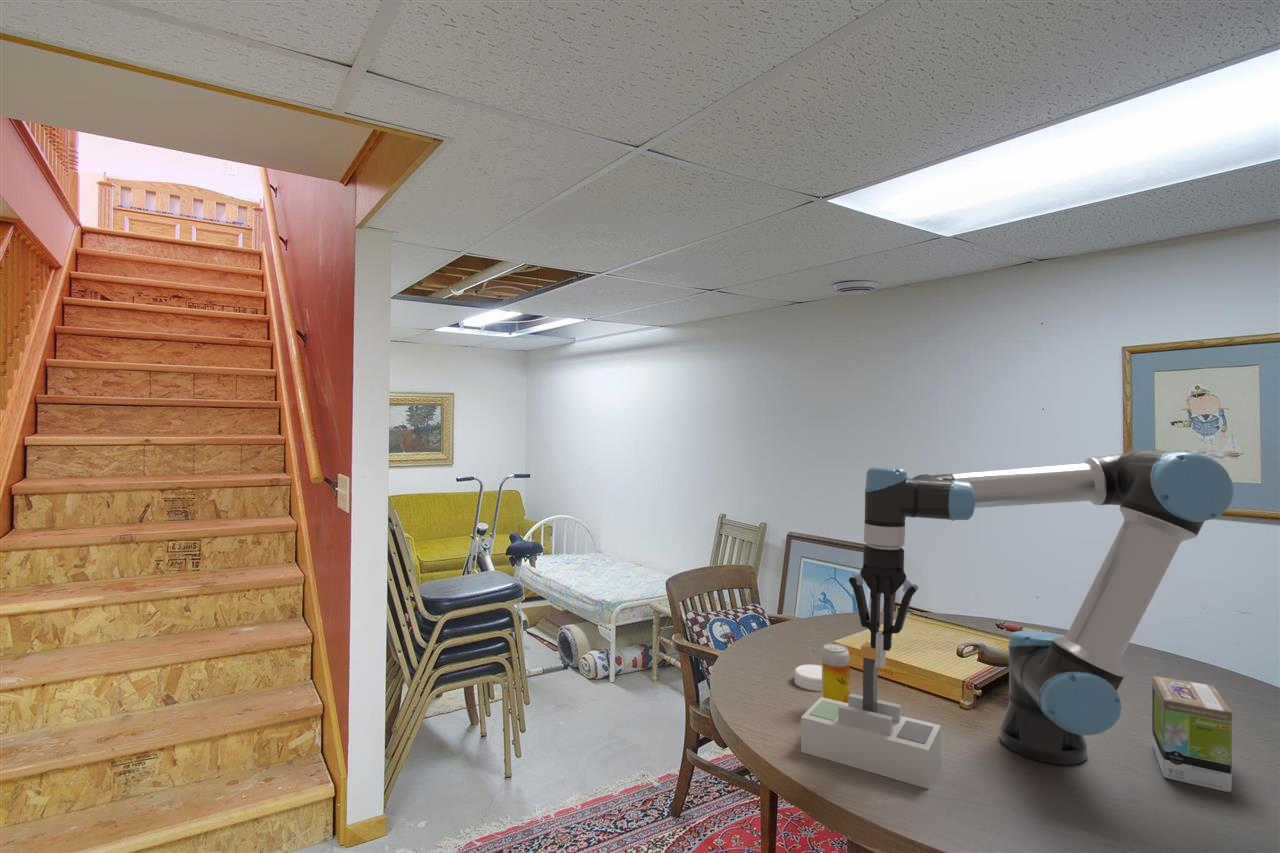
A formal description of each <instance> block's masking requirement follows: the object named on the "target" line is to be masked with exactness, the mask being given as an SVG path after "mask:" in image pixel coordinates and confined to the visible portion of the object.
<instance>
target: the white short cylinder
mask: <svg viewBox="0 0 1280 853" xmlns="http://www.w3.org/2000/svg"><path fill="white" fill-rule="evenodd" d="M794 684H795V685H796V686H797V687H799V688H802V690H803V689H804V690H808V691H813V692H822V665H818V664H802V665H799V666H796V667H795V669H794Z"/></svg>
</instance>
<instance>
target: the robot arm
mask: <svg viewBox="0 0 1280 853" xmlns="http://www.w3.org/2000/svg"><path fill="white" fill-rule="evenodd" d="M907 473H908V472H907V470H906V469H905V468H899V467H887V466H885V467H883V466H882V467H881V466H879V467H878V466H876V467H873V466H872V467H871V468H869V469H868V470H867V471H866V476H865V477H866V479H865V489H864V528H863V542H864V543H865V544H864V546H863V552H862V553H863V556H862V558H863V559H862V560H863V561H862V568H861V569H860V572H859V573H858V574H856V575H852V576H851V577H849V578H848V583H850V586H851V587H852V589H853V593H854V596H855V597H854V598H855V602H856V606H857V611H858V615H859V619H860V624H861V625H860V626H861V627H863V628H866V629H867V630H869V631H870V642H871V647H873V648H876V659H875V667H878V668H880V669H883V668H884V667H885V666H886V664H887V661H886V660H887V659H886V658H887V652H889V651H890V650H891V649H892V643H893V642H892V641H893V640H892V639H893V634H899V633H900V632H901V631H902V630H903V627H904V624H905V620H906V617H907V614H908V611H909V607H910V604H911V601H912V598H913V596H914V595H915V593H916V592H917V591H918V590H919V586H918V585H916V584H913V583H912V582H910V581H909V580H908V579H907V575H906V573H905V550H904V548H903V546H905V538H906V536H905V535H906V518H922V519H934V520H950V521H953V522H954V521H969V520H971V518H972V517H973V515H974V513H975V508H976V509H977V508H978V509H979V508H993V507H994V508H995V507H1009V506H1010V507H1011V506H1012V507H1013V506H1025V505H1026V506H1027V505H1028V506H1029V505H1043V504H1045V505H1046V504H1057V503H1058V504H1059V503H1075V502H1090V503H1091V504H1093V505H1095V506H1108V505H1109V506H1110V505H1111V506H1112V505H1113V506H1119V510H1120V512H1121V515H1122V517H1123V523H1122V525H1121V527H1120V529H1119V530H1118V532H1117V534H1116V537H1115V538H1114V541H1113V542H1112V544H1111V546H1110V549H1109V550H1108V552H1107V554H1106V556H1105V558H1104V560H1103V562H1102V564H1101V566H1100V568H1099V570H1098V572H1097V573H1096V576H1095V578H1094V579H1093V582H1092V584H1091V586H1090V588H1089V590H1088V592H1087V594H1086V596H1085V598H1084V600H1083V601H1082V604H1081V606H1080V608H1079V610H1078V612H1077V614H1076V616H1075V617H1074V620H1073V622H1072V623H1071V625H1070V628H1068V632H1067V633H1066V634H1065V635H1064V634H1059V633H1053V632H1048V631H1037V630H1019V631H1013V632H1011V634H1010V635H1009V638H1008V639H1009V640H1008V641H1009V642H1008V645H1007V648H1008V675H1009V676H1008V685H1009V687H1008V688H1009V689H1008V690H1009V694H1008V696H1009V700H1008V701H1009V702H1008V705H1007V707H1006V710H1005V713H1004V715H1003V719H1002V720H1001V723H1000V727H999V734H1000V735H999V739H1000V741H1001V743H1002V744H1003V745H1004V746H1005V747H1007V748H1008V749H1010V750H1011V751H1012V752H1014V753H1016V754H1019V755H1020V756H1023V757H1025V758H1028V759H1032V760H1034V761H1038V762H1042V763H1046V764H1053V765H1064V766H1065V765H1068V766H1069V765H1076V764H1082V763H1083V762H1085V761H1086V760H1087V758H1088V745H1087V742H1086V738H1085V736H1093V735H1097V734H1099V735H1100V734H1102V733H1105V732H1107V731H1109V730H1110V729H1111V728H1113V726H1115V725H1116V723H1117V722H1118V720H1119V719H1120V716H1121V713H1122V702H1121V700H1120V699H1121V698H1120V695H1119V693H1118V689H1119V688H1120V685H1121V684H1122V681H1123V680H1124V679H1125V678H1124V677H1125V672H1124V670H1123V668H1122V665H1121V659H1122V657H1123V656H1124V653H1125V651H1126V649H1127V648H1128V645H1129V643H1130V642H1131V640H1132V638H1133V636H1134V634H1135V632H1136V630H1137V629H1138V626H1139V624H1140V623H1141V620H1142V619H1143V616H1144V615H1145V613H1146V611H1147V608H1148V607H1149V605H1150V603H1151V601H1152V599H1153V597H1154V595H1155V593H1156V591H1157V589H1158V587H1159V585H1160V583H1161V581H1162V580H1163V578H1164V576H1165V574H1166V572H1167V570H1168V568H1169V567H1170V565H1171V563H1172V560H1173V558H1174V556H1175V554H1176V553H1177V552H1178V548H1180V545H1181V543H1182V542H1184V541H1188V540H1191V539H1195V538H1197V537H1198V535H1199V533H1200V531H1201V530H1202V527H1203V525H1204V523H1205V522H1206V521H1211V520H1213V519H1216V518H1218V517H1220V516H1221V515H1222V514H1225V512H1226V511H1227V510H1228V508H1229V507H1230V505H1231V503H1232V501H1233V498H1234V484H1233V481H1232V478H1231V477H1230V475H1229V473H1228V471H1227V470H1226V469H1225V467H1224V466H1223V465H1222V464H1221V463H1220V462H1218V461H1217V460H1215V459H1213V458H1212V457H1210V456H1208V455H1205V454H1201V453H1196V452H1191V451H1188V450H1159V449H1142V450H1135V451H1131V452H1130V451H1129V452H1124V453H1120V454H1113V455H1106V456H1104V455H1103V456H1094V457H1088V458H1086V459H1085V461H1084V462H1083V463H1073V464H1072V463H1071V464H1070V463H1069V464H1058V465H1047V466H1046V465H1045V466H1035V467H1033V466H1031V467H1022V468H1021V467H1019V468H1006V469H994V470H983V471H982V470H981V471H970V472H969V471H967V472H957V473H955V472H954V473H948V474H947V473H946V474H945V473H944V474H935V475H934V474H932V475H931V474H926V473H925V474H918V475H915V476H913V477H911V478H910V477H909V476H908V474H907ZM908 477H909V478H908ZM864 582H865V584H866V586H867V587H868V589H869V590H870V594H869V595H870V613H869V608H868V604H867V599H866V596H865V590H864V587H863V584H864ZM902 585H903V587H902ZM901 587H902V592H903V594H904V595H903V596H902V598H901V602H900V604H899V605H900V606H899V608H898V611H897V615H896V619H895V621H894V602H895V601H894V599H895V593H896V592H897V591H898V590H899V589H900V588H901ZM882 594H883V624H882V626H883V627H882V629H880V628H881V624H880V622H881V621H880V620H881V595H882ZM893 621H894V622H893Z"/></svg>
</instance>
